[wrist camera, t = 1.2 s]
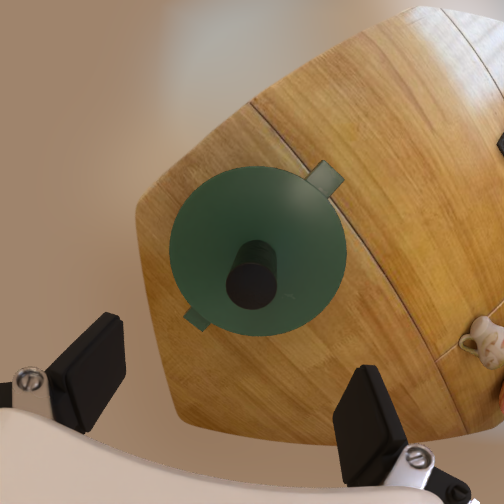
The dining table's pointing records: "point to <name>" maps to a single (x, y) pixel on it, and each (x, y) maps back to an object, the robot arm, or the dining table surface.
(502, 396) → the vase
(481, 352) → the mug
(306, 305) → the lid
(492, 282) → the dining table surface
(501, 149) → the mat
